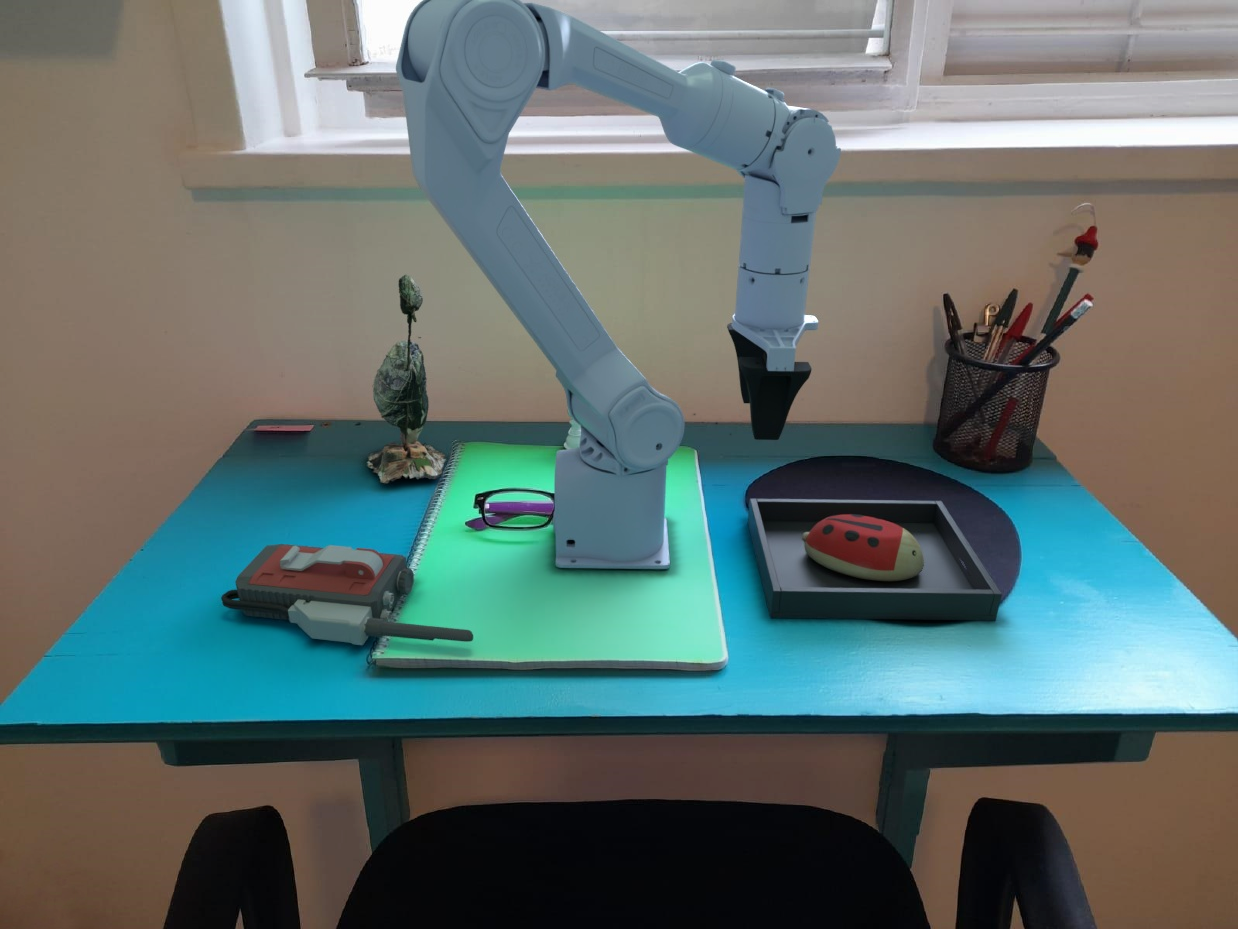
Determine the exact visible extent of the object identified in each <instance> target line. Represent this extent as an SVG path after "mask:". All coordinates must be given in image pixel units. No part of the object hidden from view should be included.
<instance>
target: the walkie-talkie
mask: <svg viewBox="0 0 1238 929" xmlns="http://www.w3.org/2000/svg"><path fill="white" fill-rule="evenodd" d="M407 563H408V562H407V557H406V556H405V555H403V554H397V553H386V552H379V551H377V550H376V549H373V548H364V547H362V548H361V547H356V549H353V547H352V546H342V545H334V544H333V545H332V544H329V545H327V546H325V547H321V546H317V547H316V546H308V545H297V544H289V543H277V544H269V545H268V544H267V545H266V546H264V547H263V548H262V550H261V551H260V552H259V553H257V555H256V556H255V557H254V558H253V559H252V560H251V561H250V562H249V564H247V566H246V567H245V568H243V570H242V571H241V572H240V573H239V574H238V575H237V577H236V579H235V581H234V583H235V587H236V589H230V590H227V591H226V592H224V593H223V594H222V595H221V597H220V599H221V600H220V601H222V607H225V608H227V609H230V610H239V611H242V612H243V614H244V615H245V616H246V617H256V618H267V619H275V620H284V621H285V620H286V621H289V624H297V626H298V627H299V628H300V629H301V630H302V631H304V633H305V634H306V635H307V636H309V637H310V638H311V639H313V640H323V641H331V642H340V643H350V644H352V645H355V646H364V644H365V643H366V641H367V640H368V638H370V637H372V638H373V637H374V638H383V637H393V638H401V639H412V640H423V641H434V640H444V641H451V642H452V641H453V642H462V643H463V642H464V643H469V642H473V640H474V633H473V632H472V631H471V630H470V629H464V628H454V627H444V626H442V627H441V626H434V625H423V624H415V623H406V622H405V623H404V622H396V621H395V622H394V621H392V618H393V614H392V610H393V609H394V607H395V605H396V604H397V602H398V601H399V599H400V598H401V596H408V595H409V594H410V593H411V592H412V590H413V586H414V581H415V575H414V571H413V570H412V568H410V567H408V564H407Z"/></svg>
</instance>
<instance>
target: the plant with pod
mask: <svg viewBox="0 0 1238 929" xmlns="http://www.w3.org/2000/svg"><path fill="white" fill-rule="evenodd" d="M398 293H399V307H400V310H401V313H402V314H403V315H406V323H407V324H408V328H407V329H408V336H407V340H401V341H397V342H396V343H395V344H393V345H392V346H391V348H390V350H388V352H387V354H386V355H385V358H384V359H383V360H382V364H381V365H380V367H379V368H378V369H377V370H376V374H375V376H374V378H373V383H372V392H373V393H372V394H373V401H374V404H375V405H376V408H377V410H378V412H379V413H380V416H381V418H382V419H383V420H385V422H387V423H388V424H389V425H391V426H393V427H397V428H399V430H400V434H399V435H400V437H399V439H400V442H401V443H396V442H391V443H388V444H386V445H384V446H383V448H382V449H381V450H378V451H377V452H372V453H371V452H370V453H369V454H368V457H367V458H368V461H367V462H366V466H367V467H368V468H370V470H371V469H373V471H372V473H374V474H375V473H376V474H377V476H379V479H380V483H383V484H389V483H390V481H391V482H395V481H396V480H397V479H402V476H403V477H404V478H405V479H408V477H409V479H414V478H416V480H419V479H424V478H426V479H427V478H428V480H431V479H432V480H436V479H438V478H440V477H441V476H442V475H443V472H444V471H443V468H444V464H445V462H446V461H447V459H446V455H445V454H444V452H443V451H441V450H436V449H435V448H434V447H435V446H431V444H429V443H426V442H424V443H421V442H420V441H418V439H419V436H420V434H421V432H422V431H423V429H424V428H425V424H426V422H427V420H428V419H427V418H428V412H429V397H428V391H427V387H428V386H427V372H426V367H425V364H424V360H425V359H424V354H423V352H422V349H420V347H419V344H418V343H416V342H414V341H412V340H411V336H412V323H413V322H415V323H417V322H418V320H417V317H416V312H417V311H419V310H420V308H421V307H422V305H423V302H424V296H423V293H422V291H421V289H420V287H419V286H418V285H417V283H416V281H415V280H414V279H413V278H412V277H411V276H410V275H409V274H408V273H406V274H404V275H403V276H401V277H400V278H398ZM417 339H422V336H417Z"/></svg>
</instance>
